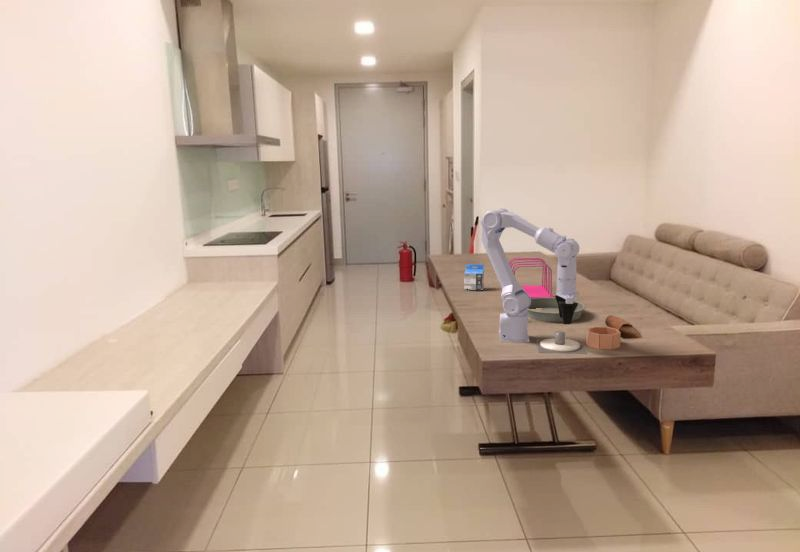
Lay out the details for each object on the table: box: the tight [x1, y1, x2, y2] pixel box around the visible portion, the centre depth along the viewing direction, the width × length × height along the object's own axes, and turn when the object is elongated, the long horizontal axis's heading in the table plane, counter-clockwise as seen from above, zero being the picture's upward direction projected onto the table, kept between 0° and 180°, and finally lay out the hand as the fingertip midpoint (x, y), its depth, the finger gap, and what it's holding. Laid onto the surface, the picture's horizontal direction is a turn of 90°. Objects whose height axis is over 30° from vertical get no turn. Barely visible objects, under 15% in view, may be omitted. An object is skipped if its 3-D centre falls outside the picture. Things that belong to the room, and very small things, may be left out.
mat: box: [534, 338, 587, 355], centre depth 176 cm, size 14×14×1 cm
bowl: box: [585, 325, 621, 350], centre depth 176 cm, size 10×10×5 cm
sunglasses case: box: [604, 315, 642, 339], centre depth 192 cm, size 18×7×7 cm
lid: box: [540, 330, 580, 352], centre depth 176 cm, size 12×12×4 cm
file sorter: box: [508, 257, 555, 299], centre depth 250 cm, size 17×25×16 cm
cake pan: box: [527, 296, 587, 323], centre depth 215 cm, size 25×25×4 cm
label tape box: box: [463, 263, 485, 291], centre depth 263 cm, size 9×4×12 cm, turn 71°
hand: (565, 320), depth 175 cm, fingers open, 7 cm apart
